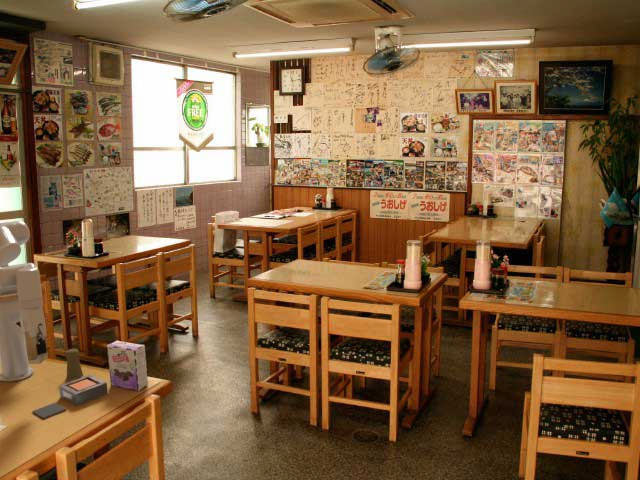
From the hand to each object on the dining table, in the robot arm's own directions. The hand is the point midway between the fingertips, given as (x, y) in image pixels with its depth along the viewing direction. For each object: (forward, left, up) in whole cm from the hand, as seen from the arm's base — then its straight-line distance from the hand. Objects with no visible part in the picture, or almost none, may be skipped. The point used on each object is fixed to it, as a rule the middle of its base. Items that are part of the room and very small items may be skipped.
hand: (37, 350), depth 213 cm
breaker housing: (+7, +12, -19) cm, 24 cm away
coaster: (+9, -2, -19) cm, 22 cm away
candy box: (+13, +27, -20) cm, 36 cm away
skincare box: (0, 0, -4) cm, 4 cm away
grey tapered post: (-13, +19, -20) cm, 30 cm away
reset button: (+7, +12, -17) cm, 22 cm away
